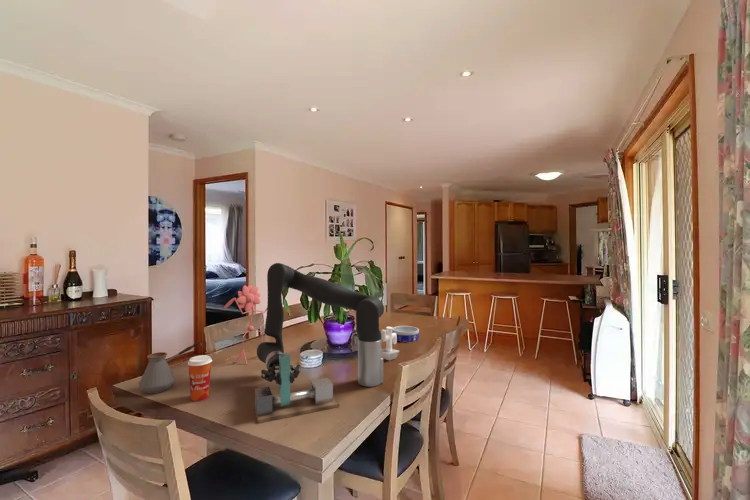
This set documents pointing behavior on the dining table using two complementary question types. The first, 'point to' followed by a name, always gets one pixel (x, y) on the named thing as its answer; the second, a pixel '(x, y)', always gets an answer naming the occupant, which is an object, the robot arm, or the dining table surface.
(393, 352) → the figurine
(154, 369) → the coffee pot
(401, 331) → the dog bowl
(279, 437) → the dining table surface
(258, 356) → the robot arm
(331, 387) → the sleeve and socket
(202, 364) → the paper cup
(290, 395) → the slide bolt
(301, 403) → the walnut board
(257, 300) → the figurine
